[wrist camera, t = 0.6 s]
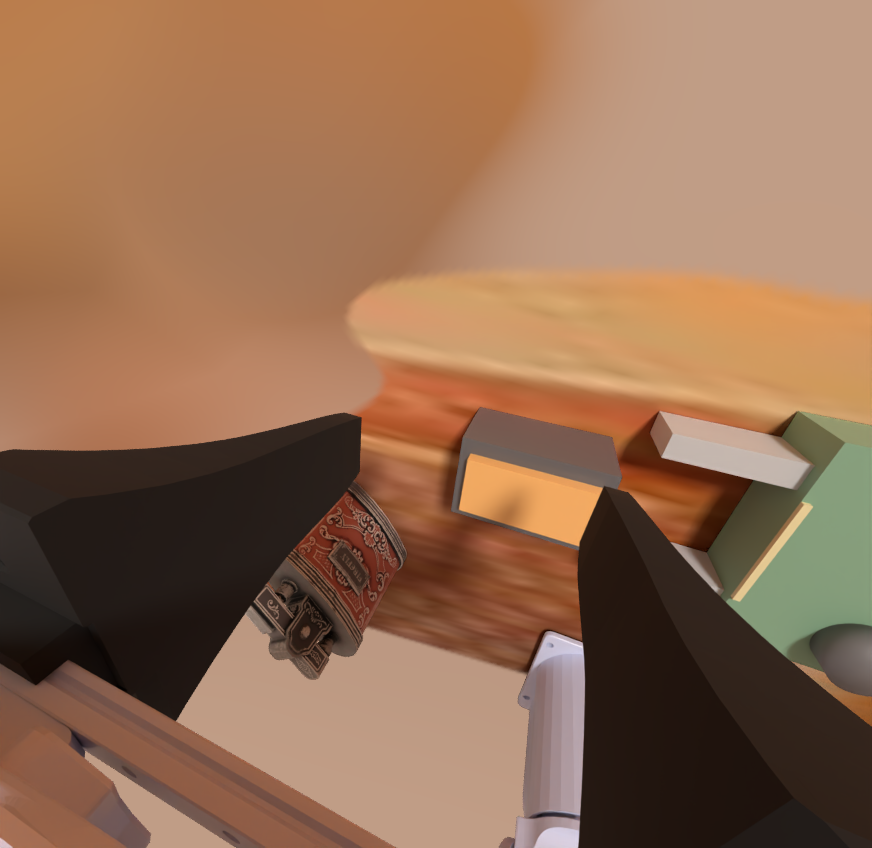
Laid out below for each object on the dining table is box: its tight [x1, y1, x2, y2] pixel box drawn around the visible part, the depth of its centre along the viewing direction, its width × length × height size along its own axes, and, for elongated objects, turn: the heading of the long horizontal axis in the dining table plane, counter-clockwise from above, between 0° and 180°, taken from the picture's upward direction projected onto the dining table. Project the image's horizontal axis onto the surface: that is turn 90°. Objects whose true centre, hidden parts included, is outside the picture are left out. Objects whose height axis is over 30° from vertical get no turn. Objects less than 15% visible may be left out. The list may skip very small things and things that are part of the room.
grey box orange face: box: [451, 407, 622, 550], centre depth 18 cm, size 4×7×5 cm, turn 84°
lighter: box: [245, 481, 407, 680], centre depth 22 cm, size 8×3×10 cm, turn 34°
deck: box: [650, 411, 872, 697], centre depth 16 cm, size 11×13×4 cm
